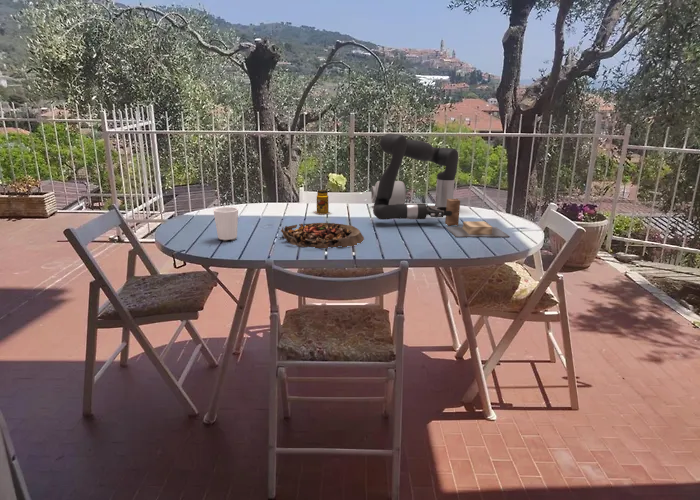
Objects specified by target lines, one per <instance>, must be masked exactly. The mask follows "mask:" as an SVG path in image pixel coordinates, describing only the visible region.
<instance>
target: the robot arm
mask: <svg viewBox="0 0 700 500" xmlns="http://www.w3.org/2000/svg"><path fill="white" fill-rule="evenodd" d="M379 145H380V149H381V151H382V152H384V153H385V154H389V155H391V159H390V162H389V164H388V166H387V168H386V169H385V171H384V172H383V174H381V177H380V179H379V181H380V182H379V186H378V191H377V197H376V200H375V203H373V209H372V213H373V216H374V217H376V218H377V219H379V220H385V221H386V220H393V219H398V220H399V219H400V220H401V219H403V220H404V219H405V220H426V218H427V216H429V217H431V218H444V217H446V216H451V215H452V211H446V205H447V199H454V195H455V194H454V193H455V181H456V176H457V172H458V164H459V152H458V150H457V149H456V148H449V147H448V148H447V147H434V146H433V145H432V144H430V143H428V142H426V141H422V140H418V139H407V137H405V136H404V135H403V134H398V133H386V134H384V135H383V136H382V137H381V138H380V141H379ZM404 157H406V158H409V159H413V160H417V161H421V162H431V163H434V164H436V165H438V166H443V167H445V168H444V170H443V171H441V172H438V173H437V175H436V188H435V201H434V205H427V203H424V202H423V203H422V202H420V203H419V202H418V203H417V202H415V203H414V202H412V203H405V204H396V205H389V200H390V199H391V197H392V193H393V188H394V183H395V181H396V179H397V178H396V177H397V175H398V172H399V170H400V167H401V165H402V162H403V159H404Z"/></svg>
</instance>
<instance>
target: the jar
mask: <svg viewBox="0 0 700 500" xmlns="http://www.w3.org/2000/svg"><path fill="white" fill-rule="evenodd" d="M379 182H380V180H377V182H375V185H371V193H370V194H371V203H373V204H374V203H375V200H376V197H377V191H378V186H379ZM369 190H370V189H368V190H367V189H366V191H367V192H368V191H369ZM366 191H364V192H365V193H366ZM360 194H363V193H362V192H360ZM406 194H407V190H406V185H405V183H404V181H402V180H395V183H394V188H393V193H392V197H391V199H390V200H389V205H396V204H406ZM365 201H367V199H365Z"/></svg>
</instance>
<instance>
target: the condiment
mask: <svg viewBox="0 0 700 500" xmlns="http://www.w3.org/2000/svg"><path fill="white" fill-rule="evenodd" d="M313 212H314V213H315V214H316V215H318V216H319V215H331V214H332V213H331V212H330V211H329V194H328V189H317V194H316V210H313Z"/></svg>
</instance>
